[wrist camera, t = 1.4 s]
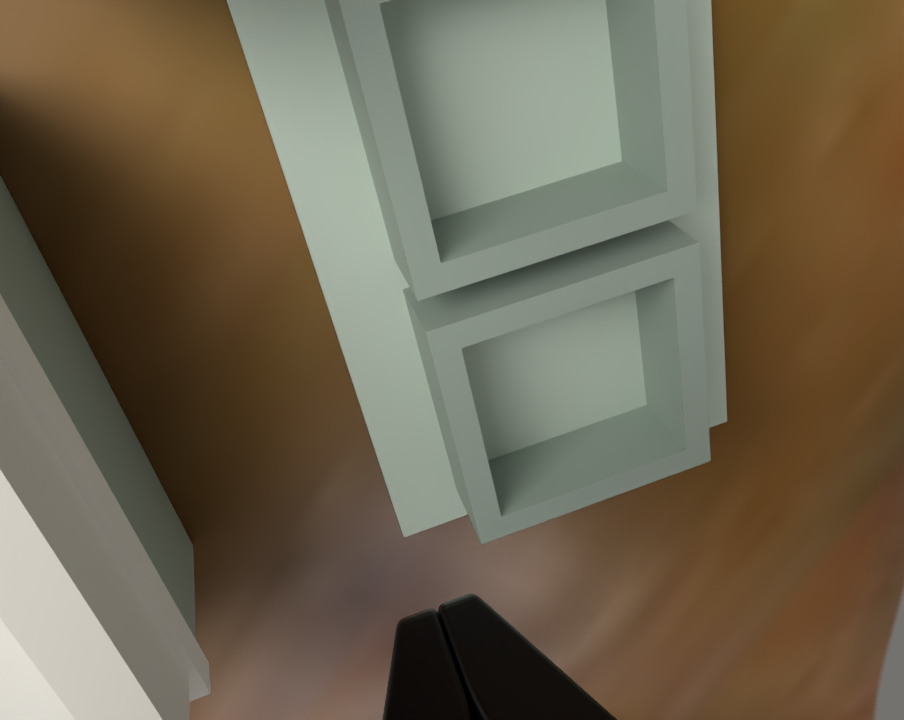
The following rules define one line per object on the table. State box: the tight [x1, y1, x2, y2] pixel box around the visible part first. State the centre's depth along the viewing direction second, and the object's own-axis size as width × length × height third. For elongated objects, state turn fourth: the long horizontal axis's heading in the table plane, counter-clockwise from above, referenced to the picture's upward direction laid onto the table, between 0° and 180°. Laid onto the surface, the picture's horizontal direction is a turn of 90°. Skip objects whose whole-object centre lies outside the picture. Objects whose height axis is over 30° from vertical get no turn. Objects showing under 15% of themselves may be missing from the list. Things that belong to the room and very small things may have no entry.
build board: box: [227, 0, 727, 545], centre depth 18 cm, size 14×9×3 cm, turn 12°
